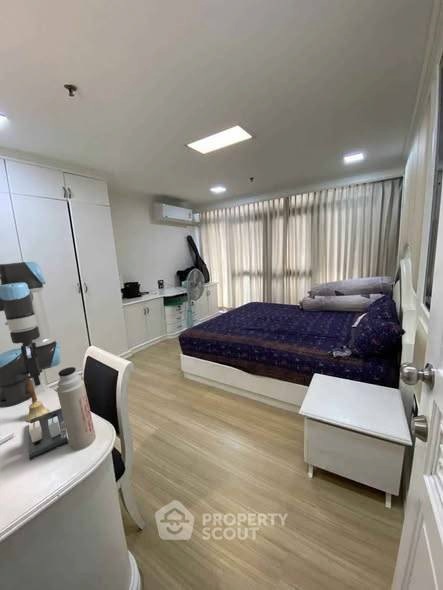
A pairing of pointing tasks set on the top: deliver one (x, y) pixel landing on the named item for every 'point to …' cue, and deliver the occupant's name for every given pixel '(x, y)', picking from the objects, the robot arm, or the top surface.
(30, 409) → the hand bell
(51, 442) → the console
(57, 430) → the fader
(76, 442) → the thermos bottle
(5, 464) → the top surface
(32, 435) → the fader
